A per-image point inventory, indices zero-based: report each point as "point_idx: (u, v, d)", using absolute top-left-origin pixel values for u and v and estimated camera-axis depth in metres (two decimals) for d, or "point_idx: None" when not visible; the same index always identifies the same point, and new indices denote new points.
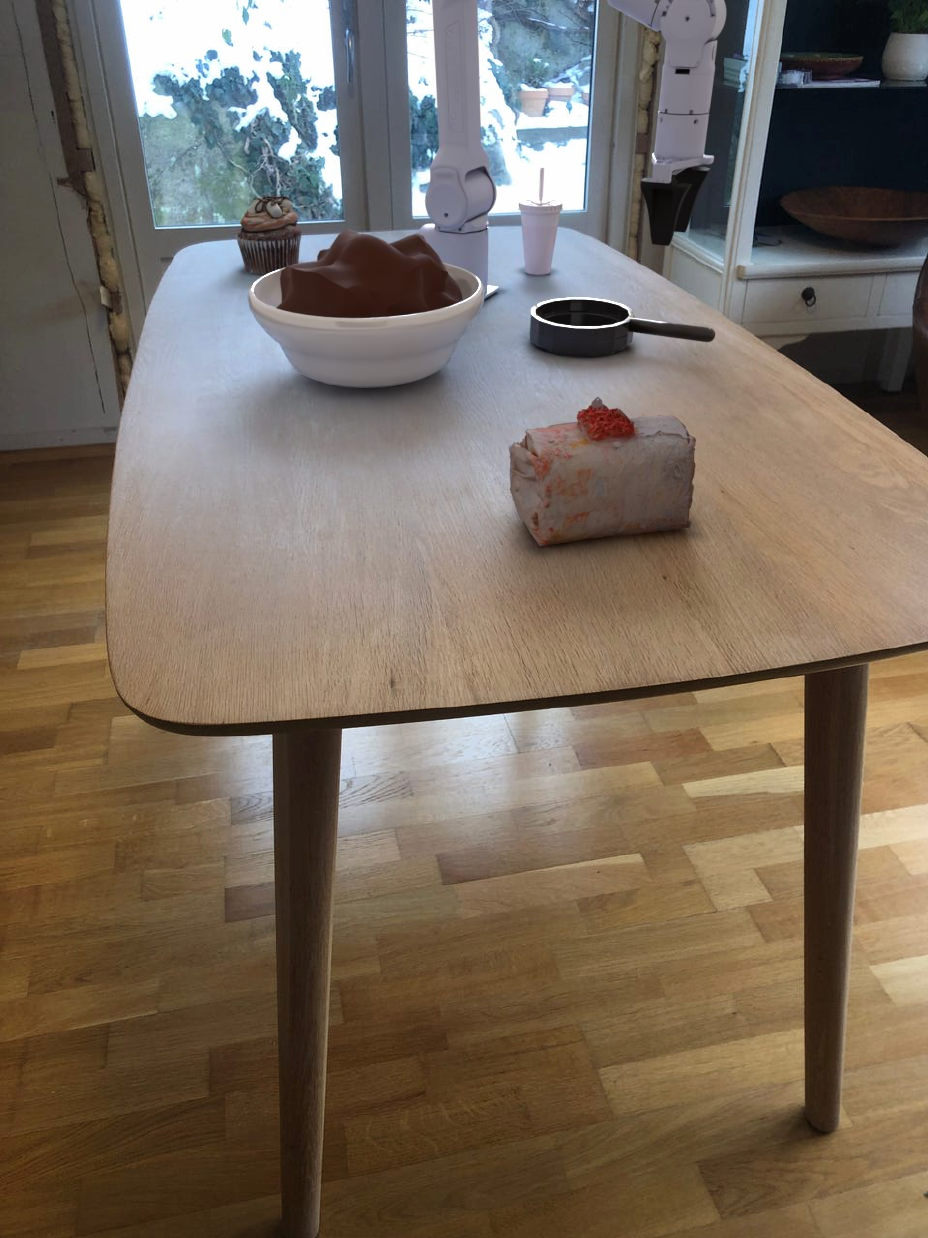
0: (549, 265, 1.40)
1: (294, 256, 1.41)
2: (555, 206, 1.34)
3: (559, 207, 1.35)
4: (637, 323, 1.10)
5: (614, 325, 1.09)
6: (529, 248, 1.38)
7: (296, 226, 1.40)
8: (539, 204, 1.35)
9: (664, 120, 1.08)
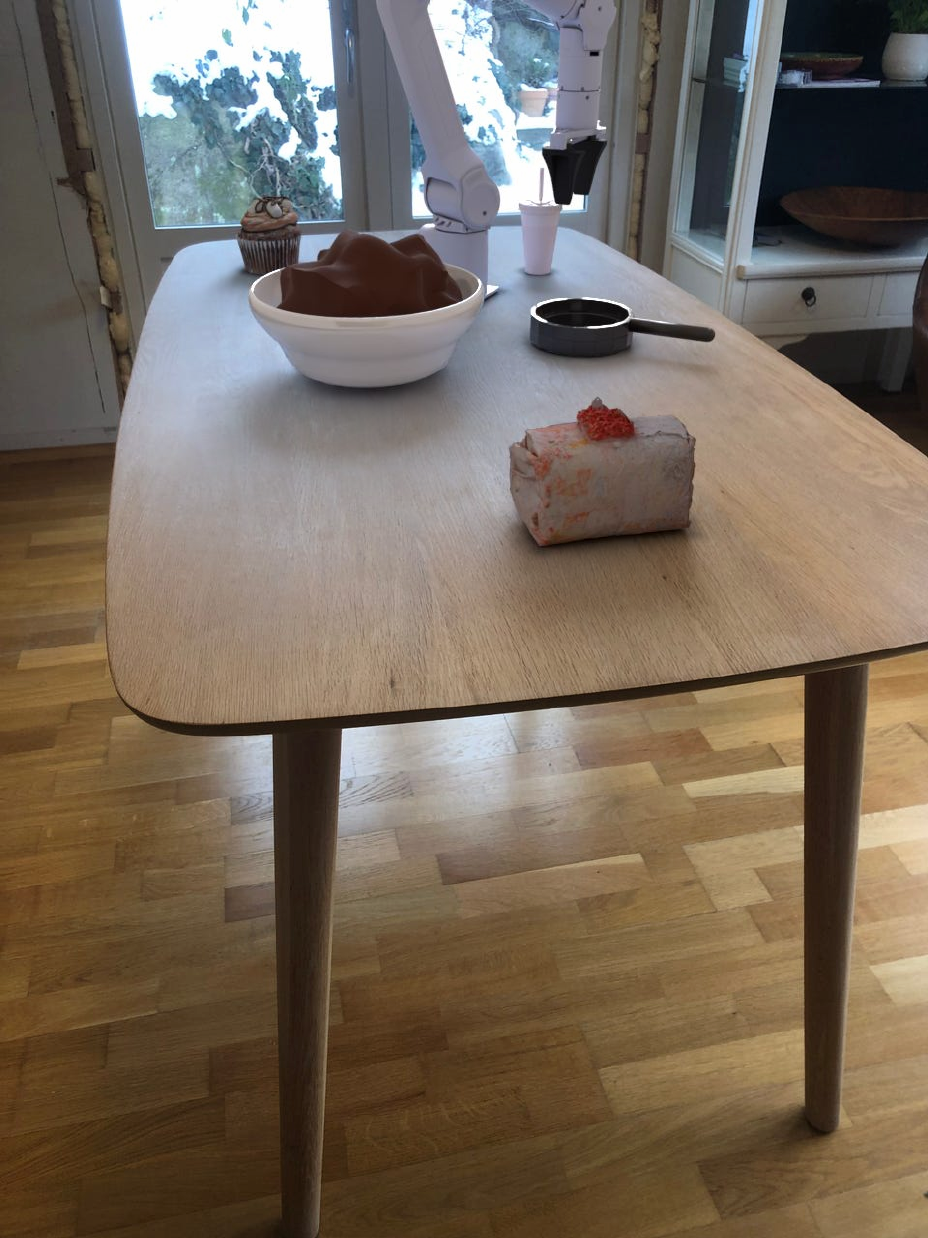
0: (549, 265, 1.40)
1: (294, 256, 1.41)
2: (555, 206, 1.34)
3: (559, 207, 1.35)
4: (637, 323, 1.10)
5: (614, 325, 1.09)
6: (529, 248, 1.38)
7: (296, 226, 1.40)
8: (539, 204, 1.35)
9: (561, 96, 1.26)
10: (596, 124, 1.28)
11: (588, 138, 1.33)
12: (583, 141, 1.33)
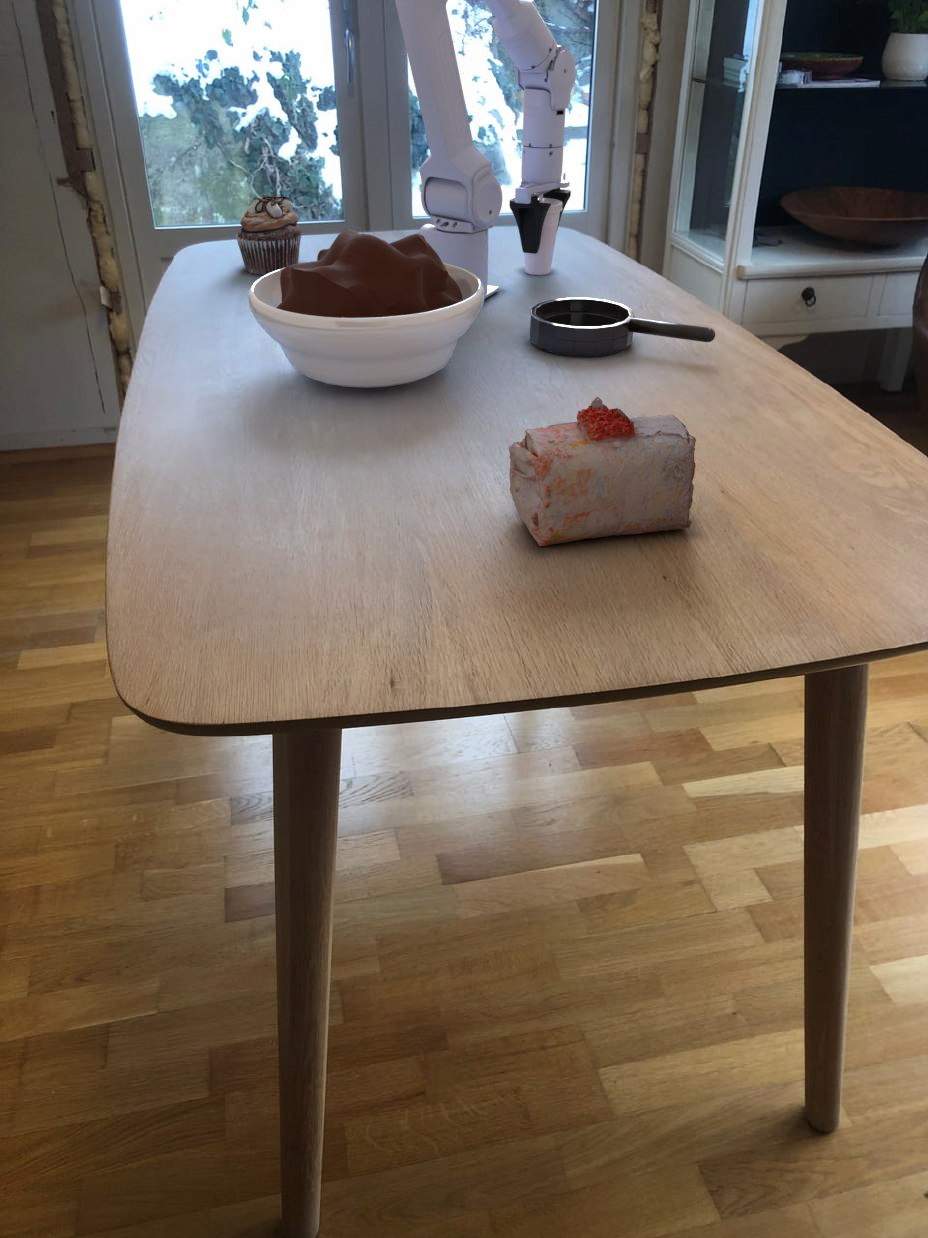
0: (549, 265, 1.40)
1: (294, 256, 1.41)
2: (555, 206, 1.34)
3: (559, 207, 1.35)
4: (637, 323, 1.10)
5: (614, 325, 1.09)
6: None
7: (296, 226, 1.40)
8: None
9: (526, 152, 1.31)
10: (560, 178, 1.33)
11: (552, 190, 1.38)
12: (547, 193, 1.39)
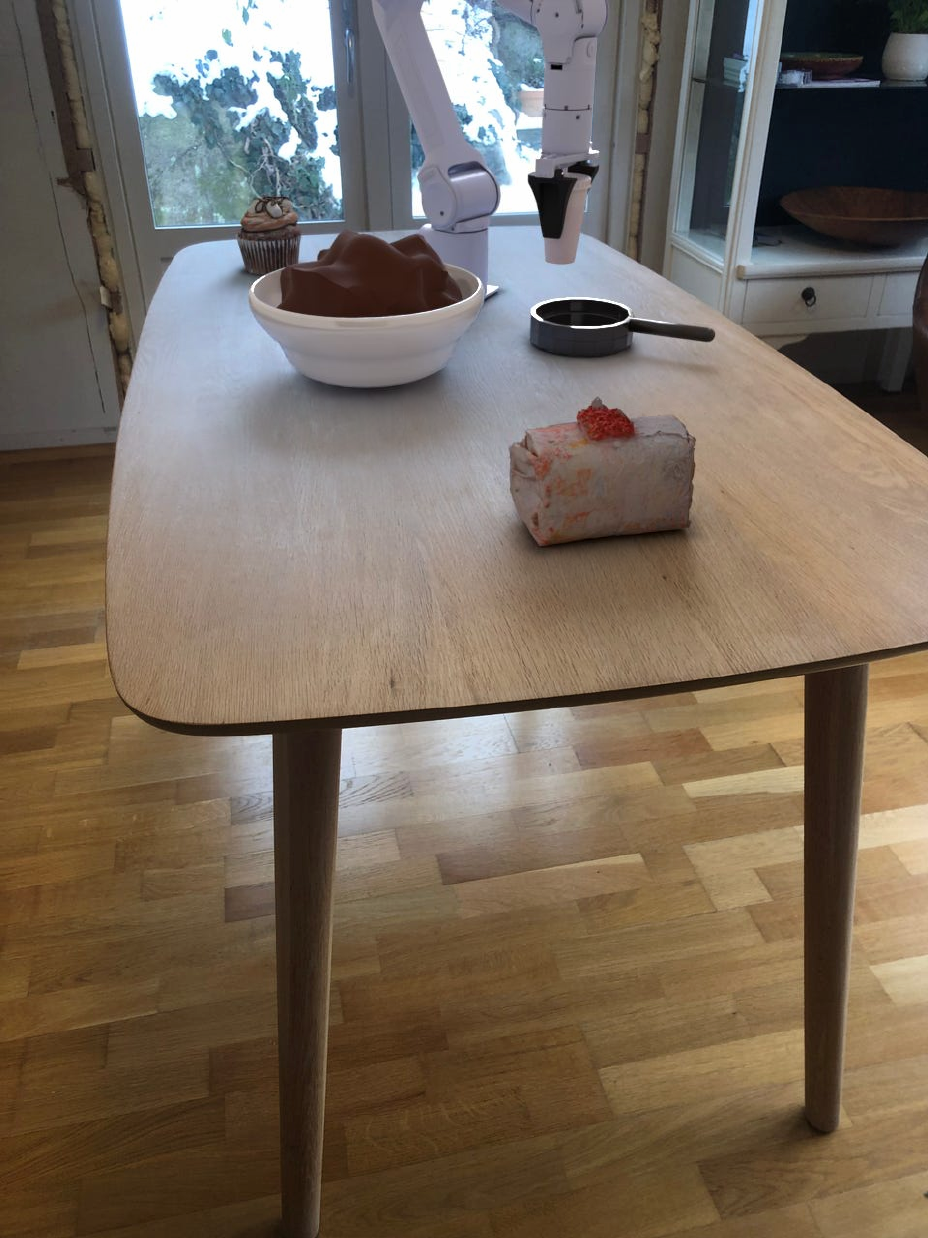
0: (574, 253, 1.18)
1: (294, 256, 1.41)
2: (583, 182, 1.12)
3: (587, 183, 1.13)
4: (637, 323, 1.10)
5: (614, 325, 1.09)
6: None
7: (296, 226, 1.40)
8: None
9: (548, 115, 1.09)
10: (588, 147, 1.11)
11: (577, 163, 1.16)
12: (571, 166, 1.16)
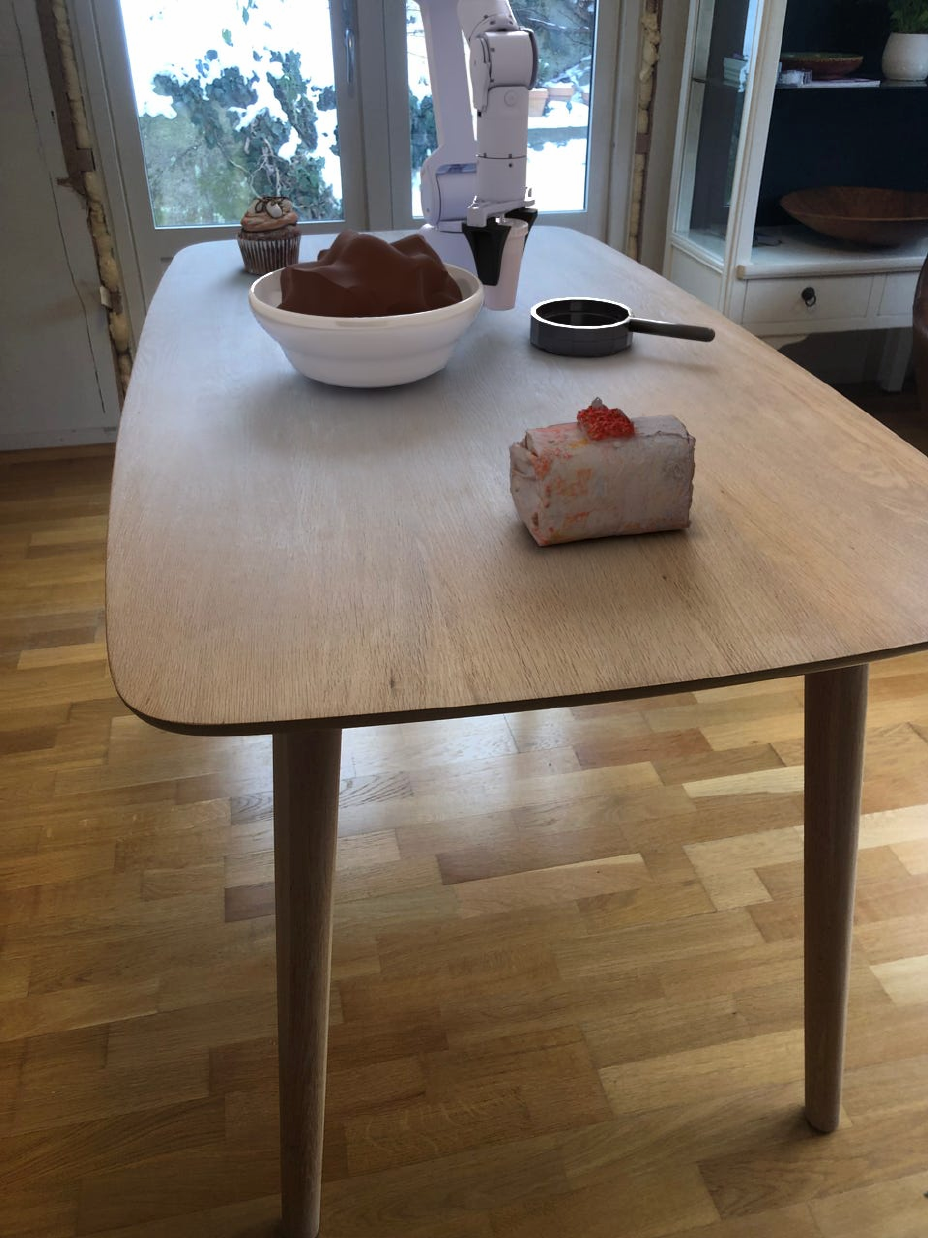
0: (513, 299, 1.16)
1: (294, 256, 1.41)
2: (518, 229, 1.10)
3: (524, 230, 1.11)
4: (637, 323, 1.10)
5: (614, 325, 1.09)
6: None
7: (296, 226, 1.40)
8: None
9: (480, 163, 1.07)
10: (523, 195, 1.09)
11: (515, 209, 1.14)
12: (510, 212, 1.14)
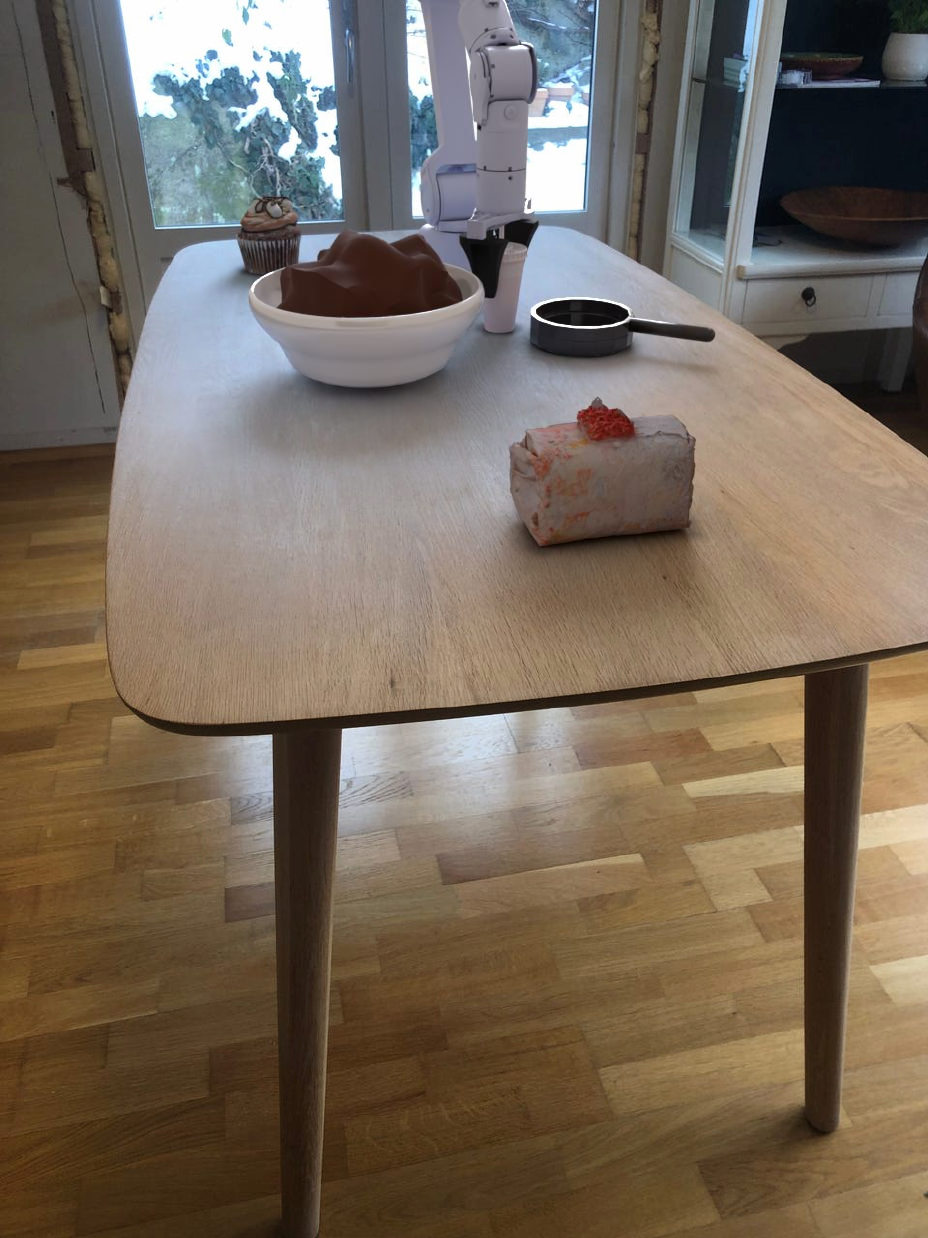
0: (512, 322, 1.18)
1: (294, 256, 1.41)
2: (518, 253, 1.12)
3: (523, 254, 1.13)
4: (637, 323, 1.10)
5: (614, 325, 1.09)
6: (488, 302, 1.16)
7: (296, 226, 1.40)
8: None
9: (480, 176, 1.08)
10: (522, 207, 1.10)
11: (516, 219, 1.15)
12: (511, 222, 1.16)
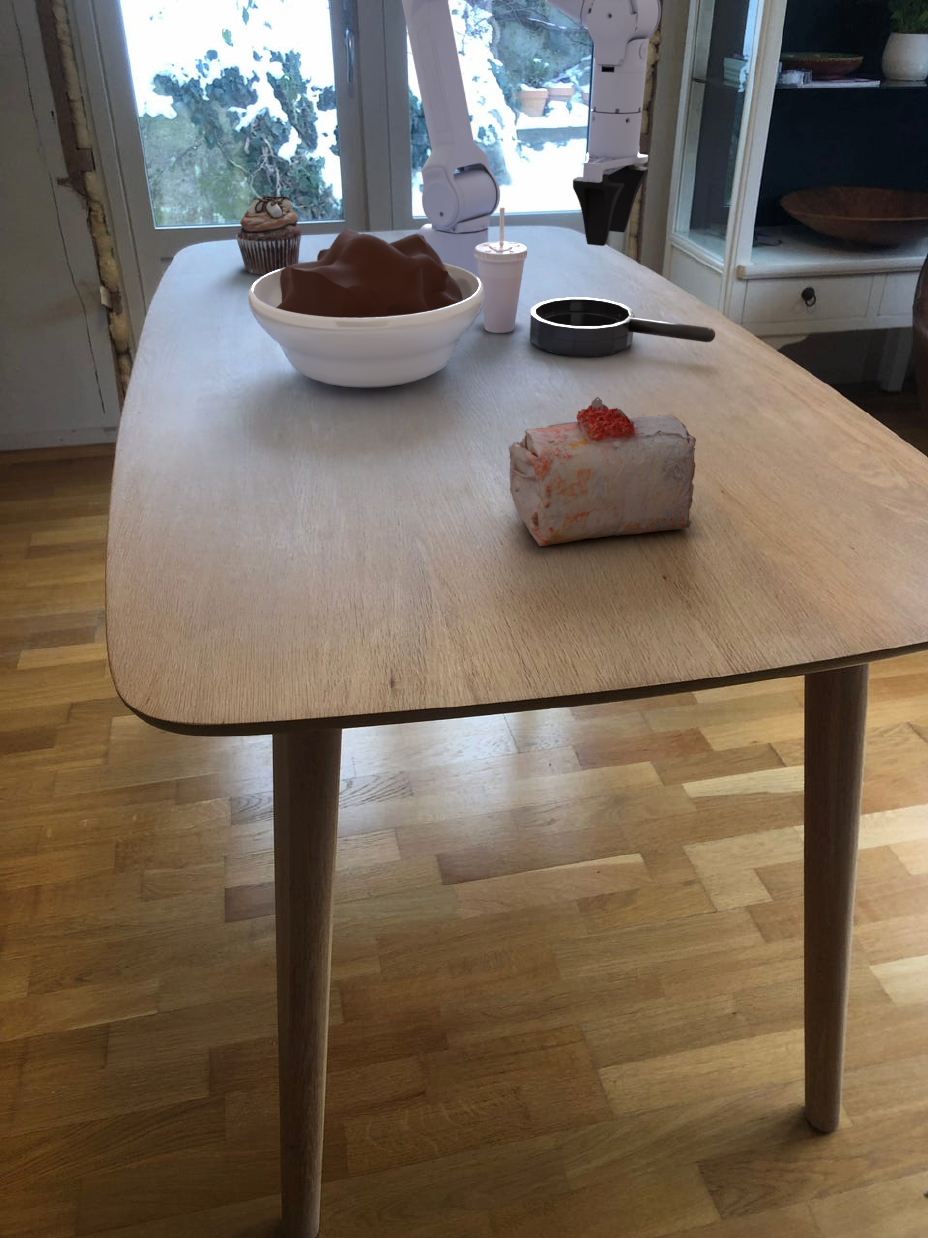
0: (512, 322, 1.18)
1: (294, 256, 1.41)
2: (518, 253, 1.12)
3: (523, 254, 1.13)
4: (637, 323, 1.10)
5: (614, 325, 1.09)
6: (488, 302, 1.16)
7: (296, 226, 1.40)
8: (499, 251, 1.12)
9: (596, 119, 1.06)
10: (637, 151, 1.08)
11: (626, 166, 1.14)
12: (620, 170, 1.14)
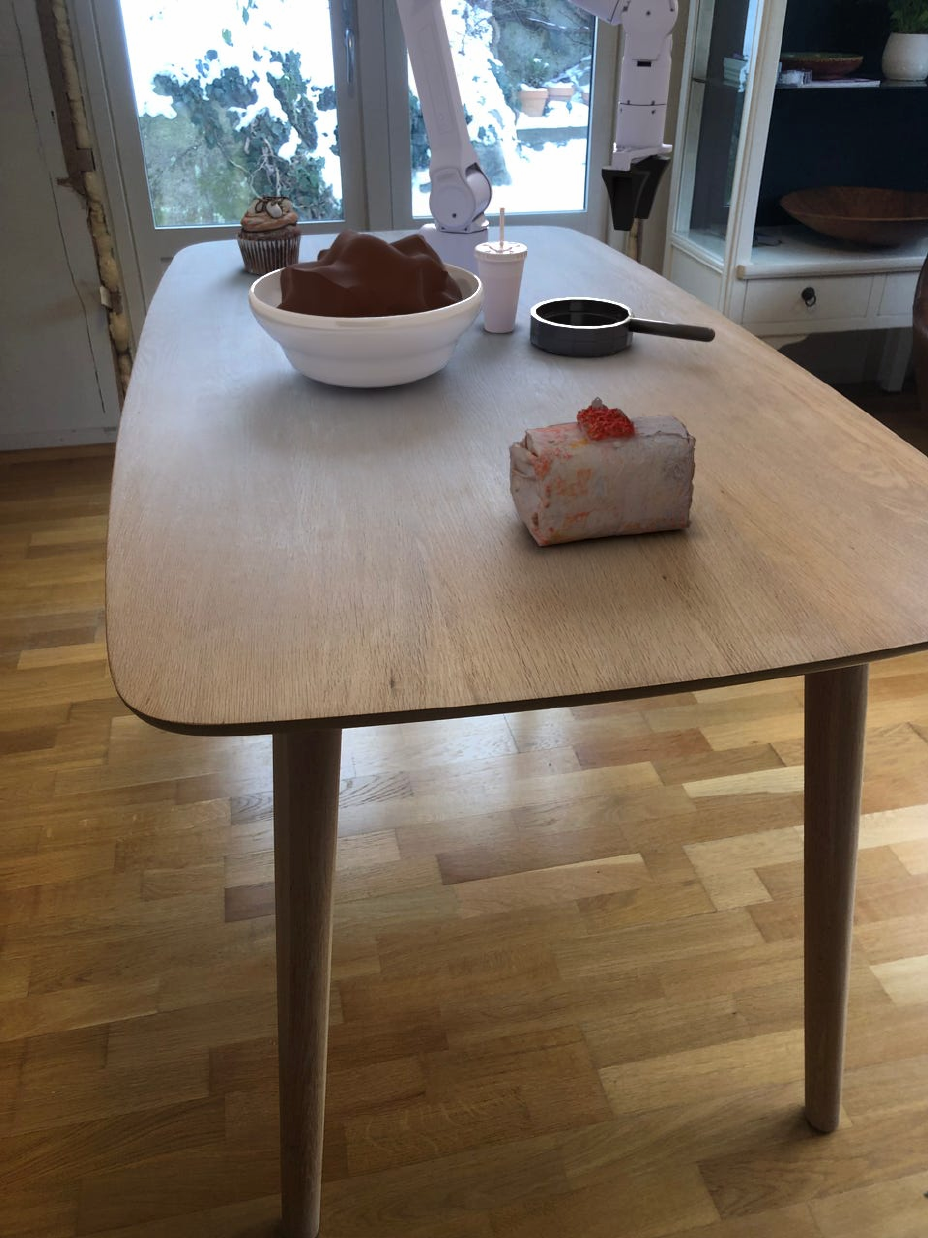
0: (512, 322, 1.18)
1: (294, 256, 1.41)
2: (518, 253, 1.12)
3: (523, 254, 1.13)
4: (637, 323, 1.10)
5: (614, 325, 1.09)
6: (488, 302, 1.16)
7: (296, 226, 1.40)
8: (499, 251, 1.12)
9: (624, 110, 1.12)
10: (661, 141, 1.15)
11: (650, 156, 1.20)
12: (644, 160, 1.20)
